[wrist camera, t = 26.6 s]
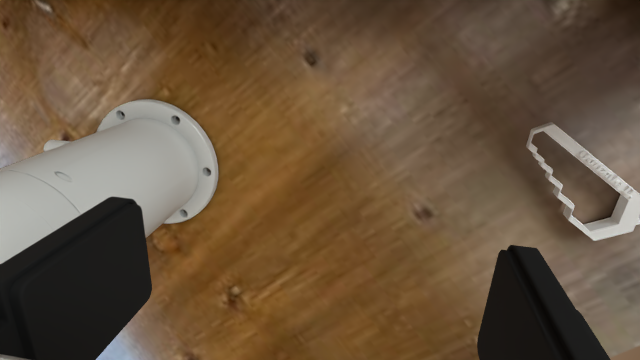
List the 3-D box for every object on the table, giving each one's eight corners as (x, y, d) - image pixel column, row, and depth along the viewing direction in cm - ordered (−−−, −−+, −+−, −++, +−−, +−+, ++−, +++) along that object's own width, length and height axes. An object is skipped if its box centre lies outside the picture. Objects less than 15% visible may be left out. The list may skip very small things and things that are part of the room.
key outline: (494, 159, 35) (499, 165, 33) (540, 113, 33) (547, 118, 31) (605, 247, 36) (615, 258, 34) (656, 208, 34) (669, 218, 32)
